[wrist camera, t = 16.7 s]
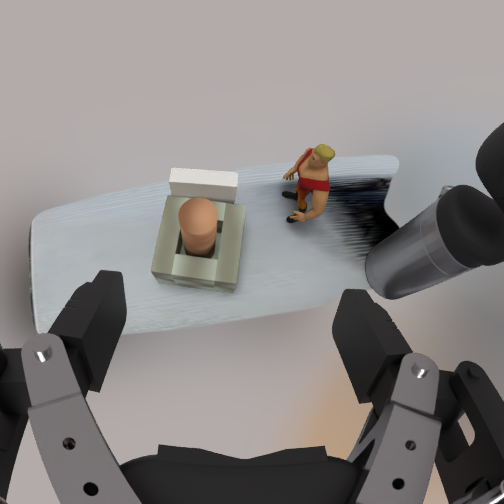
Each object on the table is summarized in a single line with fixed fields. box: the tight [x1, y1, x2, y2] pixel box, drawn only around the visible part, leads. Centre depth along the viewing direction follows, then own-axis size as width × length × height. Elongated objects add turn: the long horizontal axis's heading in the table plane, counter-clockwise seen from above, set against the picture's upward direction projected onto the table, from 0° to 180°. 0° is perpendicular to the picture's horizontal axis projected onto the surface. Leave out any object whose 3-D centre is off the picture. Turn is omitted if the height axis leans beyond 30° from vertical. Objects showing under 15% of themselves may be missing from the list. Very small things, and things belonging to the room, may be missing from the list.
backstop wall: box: [169, 168, 238, 204], centre depth 39 cm, size 8×2×9 cm, turn 88°
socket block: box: [151, 195, 246, 293], centre depth 38 cm, size 10×10×6 cm
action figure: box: [282, 144, 335, 223], centre depth 38 cm, size 10×4×15 cm, turn 6°
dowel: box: [178, 197, 218, 259], centre depth 34 cm, size 4×4×10 cm
